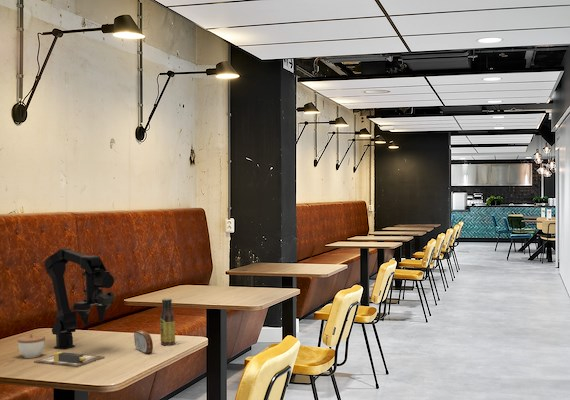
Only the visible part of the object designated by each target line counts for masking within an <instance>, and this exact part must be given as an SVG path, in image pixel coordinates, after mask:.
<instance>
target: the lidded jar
mask: <svg viewBox="0 0 570 400" xmlns="http://www.w3.org/2000/svg"><path fill="white" fill-rule="evenodd" d="M45 345H46V337H45V335H42V334H33V333H29V335H24V336H20V337H18V338H17V347H18V351H19V353H20V355H22V356H23V358H24V359H33V358H38V357H40V356H41V354H42V353H44V349H45V347H46V346H45Z"/></svg>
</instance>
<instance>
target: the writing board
mask: <svg viewBox="0 0 570 400" xmlns="http://www.w3.org/2000/svg"><path fill="white" fill-rule="evenodd" d="M82 354H83V357H85V358H86V360H85V361H83V362H81V363H68V362H58V361H54V354H53V355H49V356H47V357H44V358H39V359H37V360H34V361H33V363H36V364H43V365H54V366H62V367H70V366H71V368H78V367H79V366H80V367H82V365H83V366H85V365H88V364H91V363H93V362H97V361H100V360H102V359H105V356H104V355H103V356H102V355H91V354H85V353H82ZM96 360H97V361H96Z"/></svg>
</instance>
